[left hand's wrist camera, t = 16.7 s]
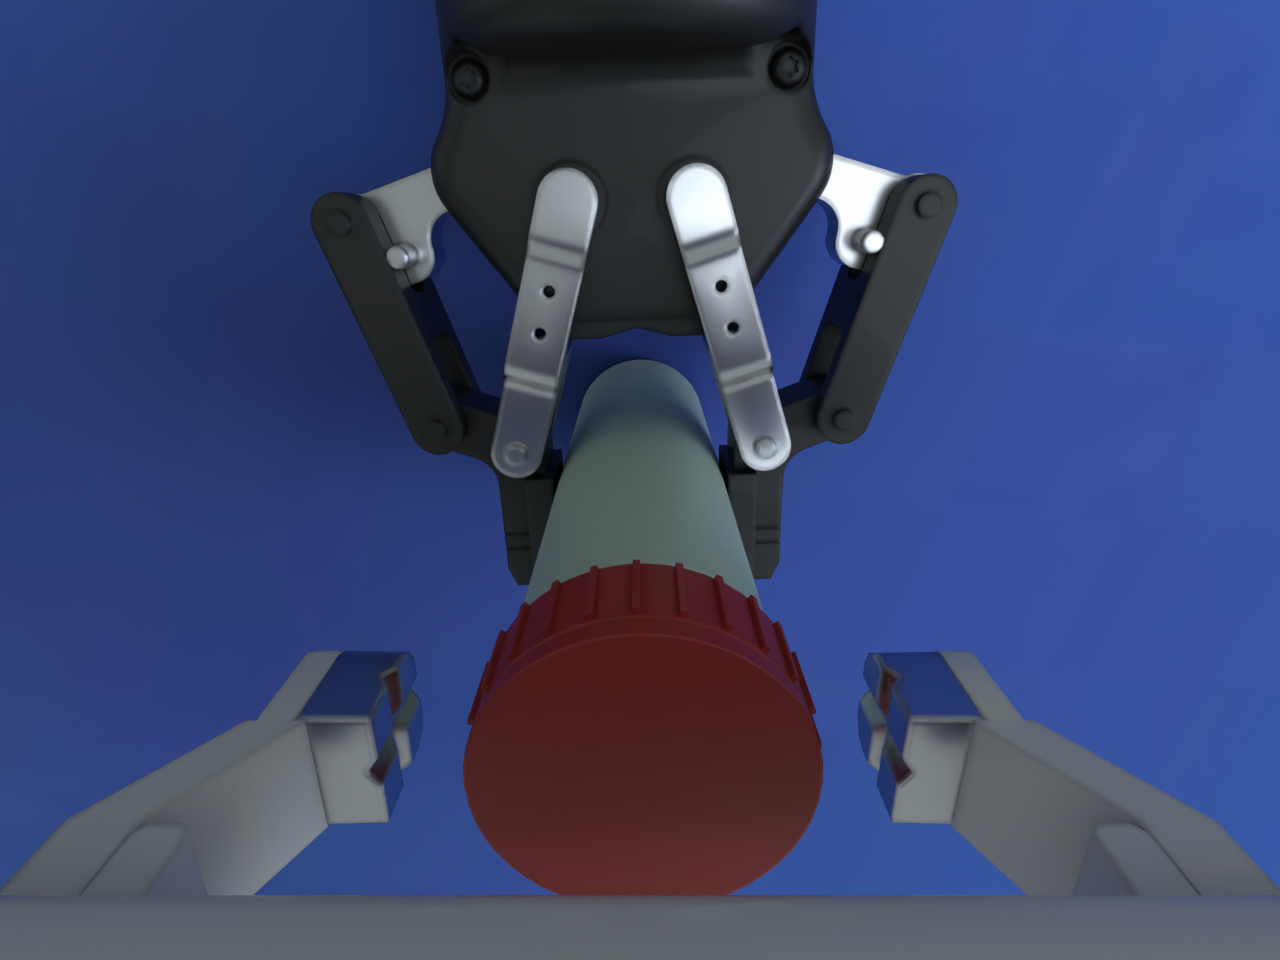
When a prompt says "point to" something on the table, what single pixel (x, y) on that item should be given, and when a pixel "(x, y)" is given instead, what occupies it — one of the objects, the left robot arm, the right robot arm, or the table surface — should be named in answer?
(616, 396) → the jar
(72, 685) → the table surface
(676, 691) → the lid
